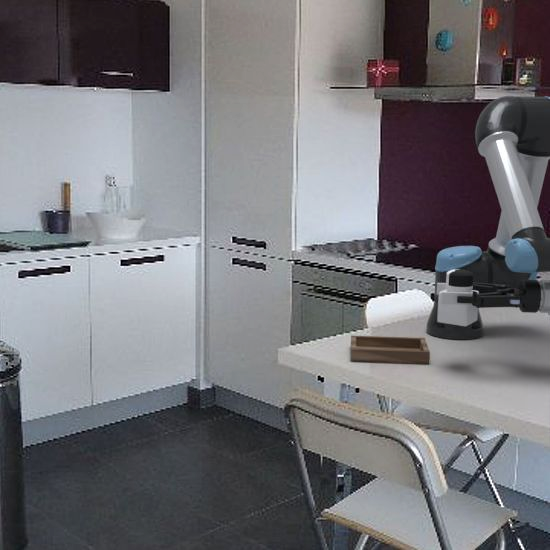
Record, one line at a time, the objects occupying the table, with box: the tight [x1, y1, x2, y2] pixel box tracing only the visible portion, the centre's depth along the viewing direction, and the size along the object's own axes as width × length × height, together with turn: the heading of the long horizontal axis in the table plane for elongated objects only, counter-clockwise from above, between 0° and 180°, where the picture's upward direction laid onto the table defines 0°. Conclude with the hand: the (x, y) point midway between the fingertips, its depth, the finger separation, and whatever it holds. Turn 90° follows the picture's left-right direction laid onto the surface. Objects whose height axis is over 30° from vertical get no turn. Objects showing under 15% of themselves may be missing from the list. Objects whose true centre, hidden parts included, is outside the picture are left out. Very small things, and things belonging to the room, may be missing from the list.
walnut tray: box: [350, 335, 431, 365], centre depth 206 cm, size 13×18×3 cm
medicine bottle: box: [437, 269, 479, 326], centre depth 195 cm, size 7×7×12 cm
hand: (439, 293), depth 195 cm, fingers closed on medicine bottle, 9 cm apart
